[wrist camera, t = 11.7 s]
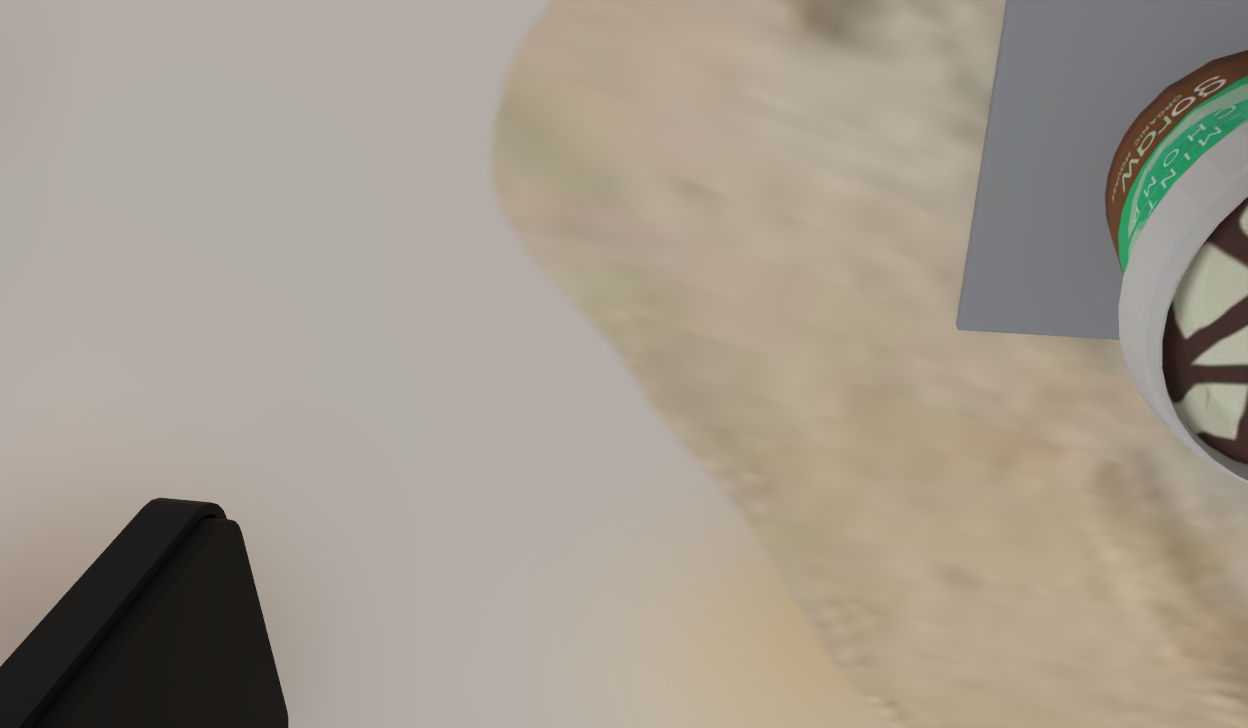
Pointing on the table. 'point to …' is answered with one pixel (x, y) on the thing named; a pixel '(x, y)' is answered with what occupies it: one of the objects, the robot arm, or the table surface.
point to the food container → (1188, 258)
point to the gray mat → (1071, 152)
